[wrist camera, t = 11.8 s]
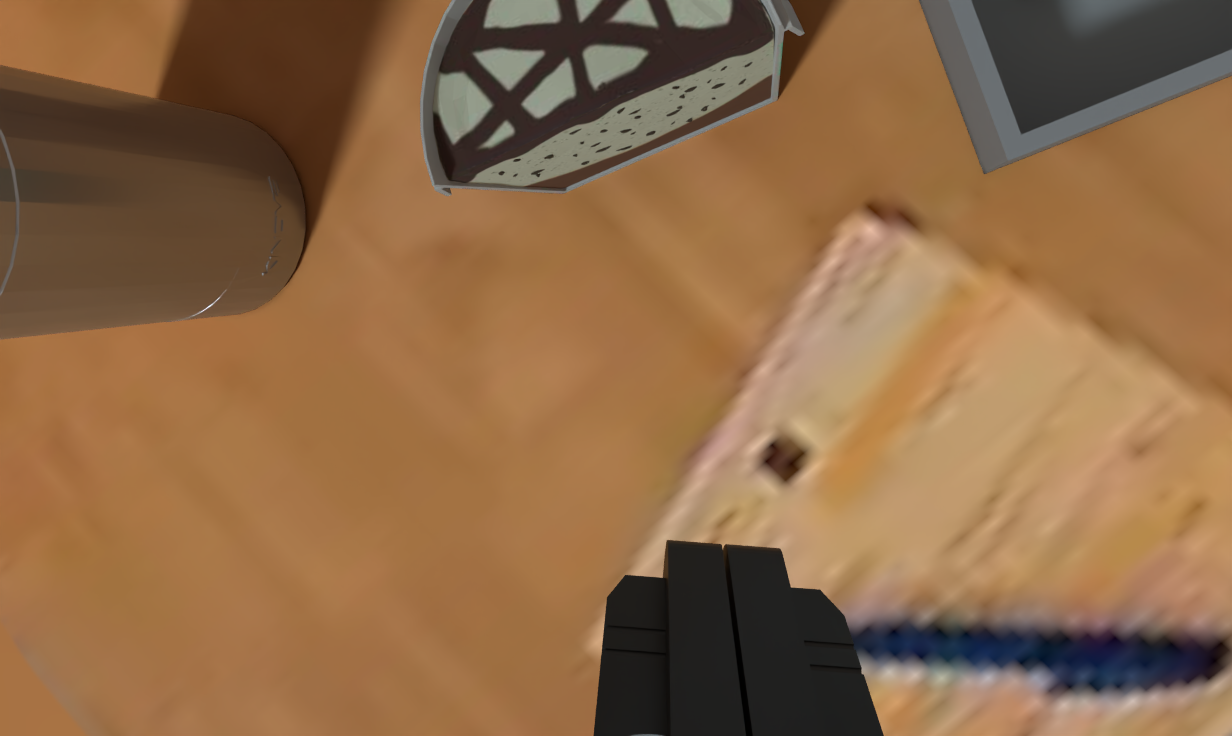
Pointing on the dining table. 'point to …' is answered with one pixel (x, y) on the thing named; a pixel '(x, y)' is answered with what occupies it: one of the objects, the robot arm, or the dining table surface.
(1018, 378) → the dining table surface
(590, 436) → the dining table surface
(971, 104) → the box
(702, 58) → the food container
